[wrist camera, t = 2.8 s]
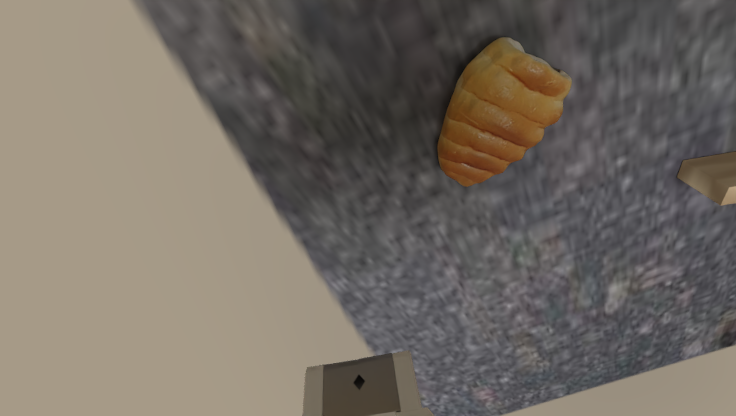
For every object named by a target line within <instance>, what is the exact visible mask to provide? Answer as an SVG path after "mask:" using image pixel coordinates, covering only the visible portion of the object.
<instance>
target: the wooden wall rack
mask: <svg viewBox="0 0 736 416" xmlns="http://www.w3.org/2000/svg"><path fill="white" fill-rule="evenodd" d="M677 178H679V179H680V180H682V181H683V182H685V183H687V184H688V185H690V186H691V187H693V188H694V189H696V190H697V191H699V192H700V193H702V194H704V195H705V196H707V197H708V198H710V199H711V200H713V201H714V202H716V203H718V204H719V205H726V204H732V203H736V152H730V153H724V154H718V155H712V156H706V157H700V158H695V159H689V160H683V162H682V165H681V168H680V170H679V173H678V176H677Z"/></svg>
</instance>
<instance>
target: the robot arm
mask: <svg viewBox="0 0 736 416" xmlns="http://www.w3.org/2000/svg"><path fill="white" fill-rule="evenodd" d="M392 355H393V356H392ZM303 416H434V414H433V413H432V412H431V411H430V410H429V409H428V408H427V407H426V408H422V406H421V401H420V396H419V392H418V387H417V382H416V377H415V372H414V367H413V362H412V357H411V353H410V351H409V350H408V351H403V352H397V353H393V354H392V353H389V354H383V355H378V356H372V357H367V358H362V359H358V360H352V361H346V362H339V363H333V364H327V365H319V366H313V367H307V370H306V373H305V385H304V401H303Z"/></svg>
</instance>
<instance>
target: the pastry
mask: <svg viewBox="0 0 736 416" xmlns="http://www.w3.org/2000/svg"><path fill="white" fill-rule="evenodd" d="M571 84H572V79H571V78H570V77H569V75H568V74H566V73H565V72H564V71H562V70H559V69H555V68H552V67H551V66H550V65H549V64H548V63H547V62H546V61H544V60H542V59H541V58H537V57H535V56H533V55H530V54H527V53H525V52H524V49H523V47H522V46H521V44H520V43H519V42H517V41H514V40H513V39H511V38H508V37H503V38H498V39H497V40H495V41H493V42H492V43H491V44H489V45H488V46H487V47H486V48H484V49H483V50H482V51H481V52H480V53H479V54H478V55H477V56H476V57H475V58H474V59H473V60H472V61H471V62H470V63H469V64H468V65H467V66H466V68H465V69H464V71H463V73H462V74H461V76H460V78H459V79H458V81H457V84H456V87H455V90H454V93H453V95H452V97H451V100H450V103H449V105H448V108H447V112H446V115H445V119H444V123H443V126H442V130H441V133H440V137H439V140H438V145H437V151H438V160H439V164H440V167H441V170H442V171H443V172H444V173H445V174H446V175H447V176H449V177H450V178H452V179H454V180H456V181H457V182H459V184H461V185H463V186H466V187H467V186H471V185H473V184H476V183H481V182H483V181H485V180H487V179H488V178H490V177H492V176H493V175H495V174H500V173H503V172H504V170H505V169H506V168H507V166H508V165H509V164H510V163H512V162H514V161H518V160H521V159H522V158H523V156H524V153H525V151H526V150H527V149H529V148H531V147H533V146H535V145H536V144H537V143H538V142H539V141H541V140H542V138H543V135H544V128H545V127H547V126H549V125H552V124H554V123H556V122H557V121H558V120H559V118H560V117H561V115H562V112H563V99H564V98H565V97H566V96H567V94H568V93H569V91H570V88H571Z"/></svg>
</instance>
